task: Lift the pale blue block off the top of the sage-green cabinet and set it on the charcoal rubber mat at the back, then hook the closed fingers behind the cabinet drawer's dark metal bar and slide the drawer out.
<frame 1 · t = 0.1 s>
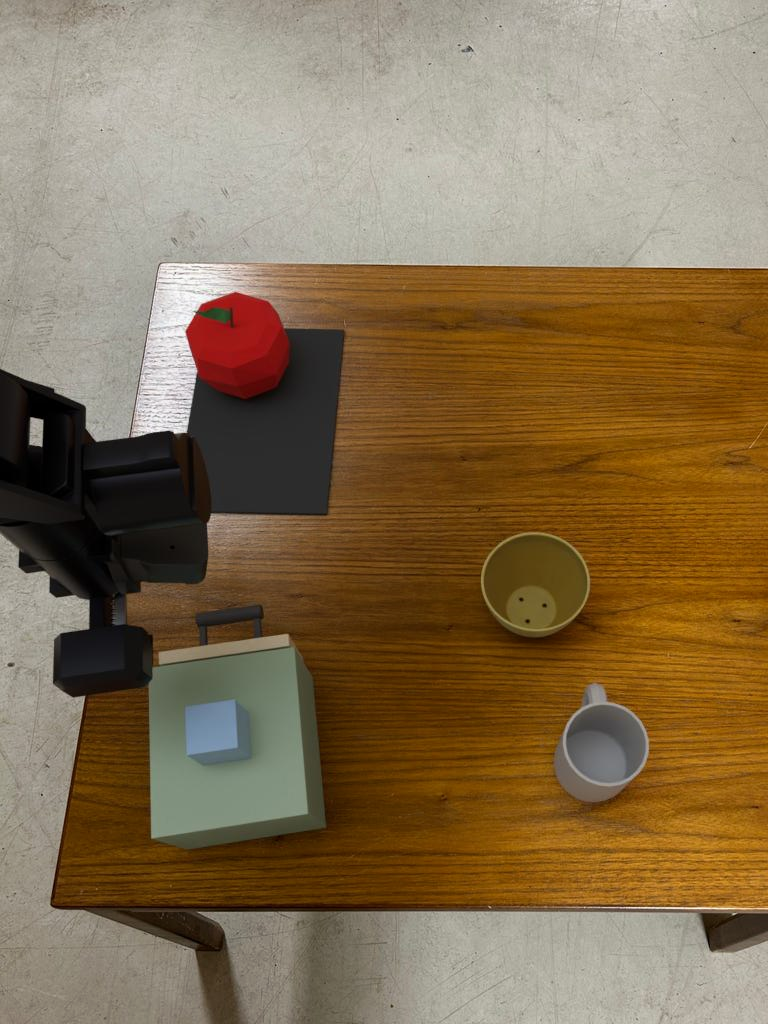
hand: (146, 611, 67), 12 cm above the table, tool pointing down, fingers open, 9 cm apart
mat: (263, 417, 89), on the table
cup: (589, 750, 76), on the table
apple: (250, 373, 90), resting on mat
flower pot: (530, 610, 81), on the table
block: (225, 738, 67), point 9 cm above the table, touching cabinet
cabinet: (252, 759, 75), on the table
drawer: (237, 702, 73), point 4 cm above the table, slide at 0.5 cm
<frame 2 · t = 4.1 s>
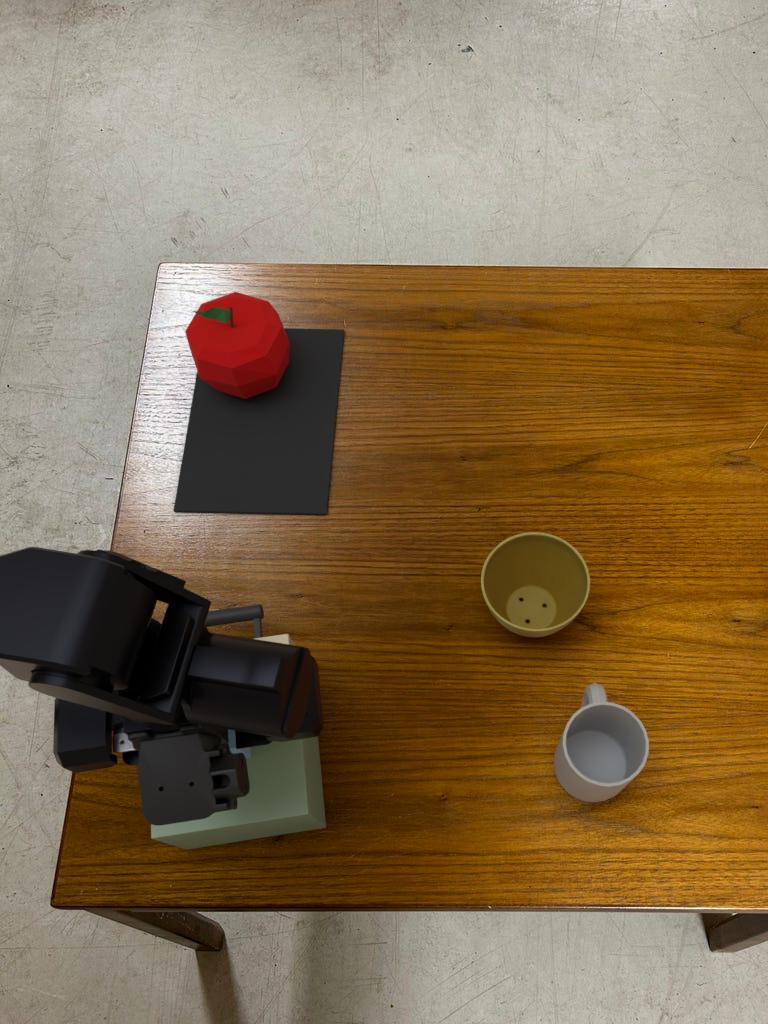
hand: (224, 737, 67), 9 cm above the table, tool pointing down, fingers closed on block, 4 cm apart
block: (225, 738, 67), point 9 cm above the table, touching cabinet, gripper
everything else where it was.
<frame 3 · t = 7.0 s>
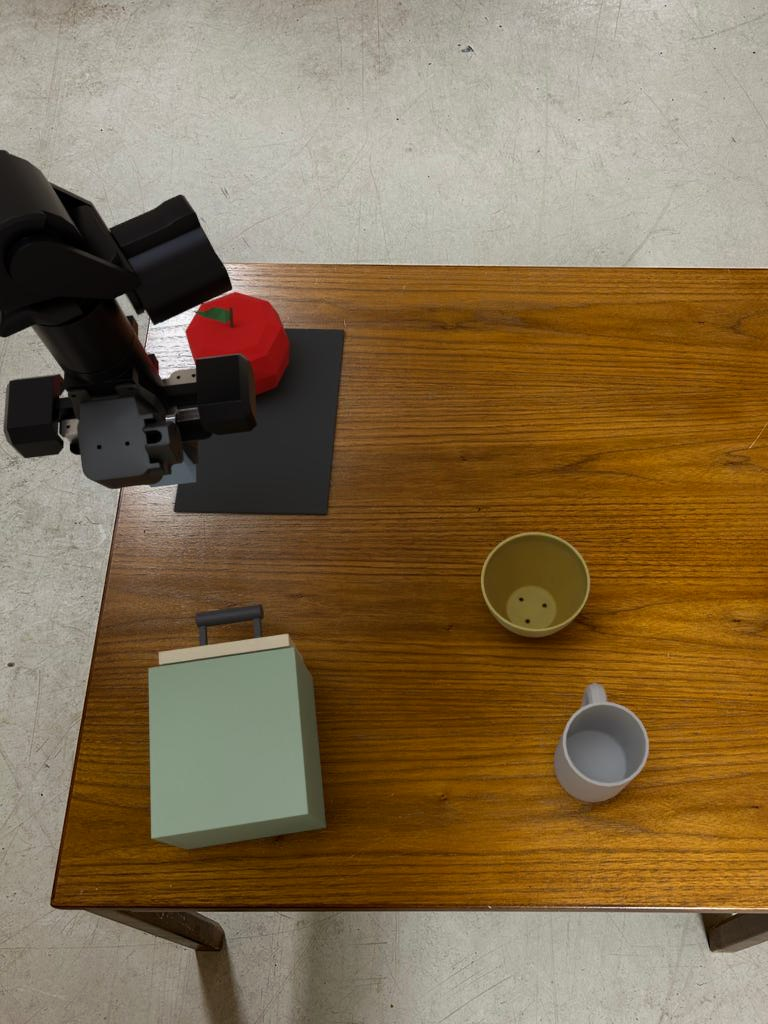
hand: (171, 462, 71), 13 cm above the table, tool pointing down, fingers closed on block, 4 cm apart
block: (173, 465, 72), point 13 cm above the table, touching gripper
everything else where it was.
when the fingers open (1 cm above the table, at t = 10.2 s): block stays where it is, resting on mat.
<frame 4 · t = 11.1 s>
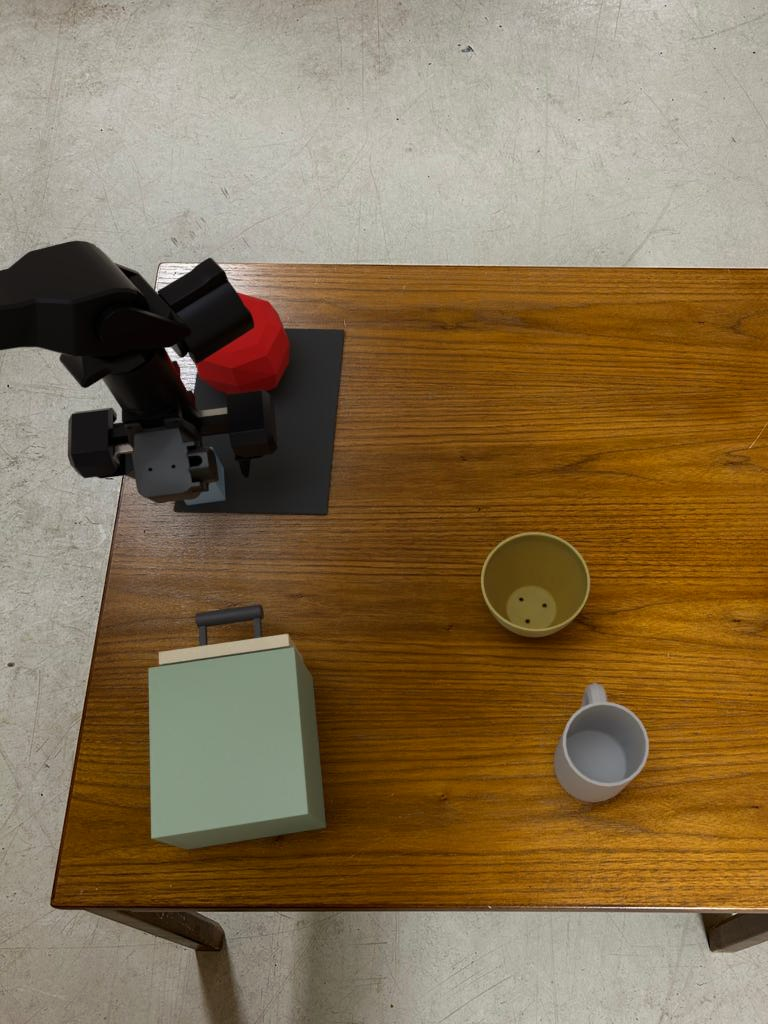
hand: (202, 479, 84), 2 cm above the table, tool pointing down, fingers open, 9 cm apart
block: (205, 486, 85), resting on mat
everything else where it was.
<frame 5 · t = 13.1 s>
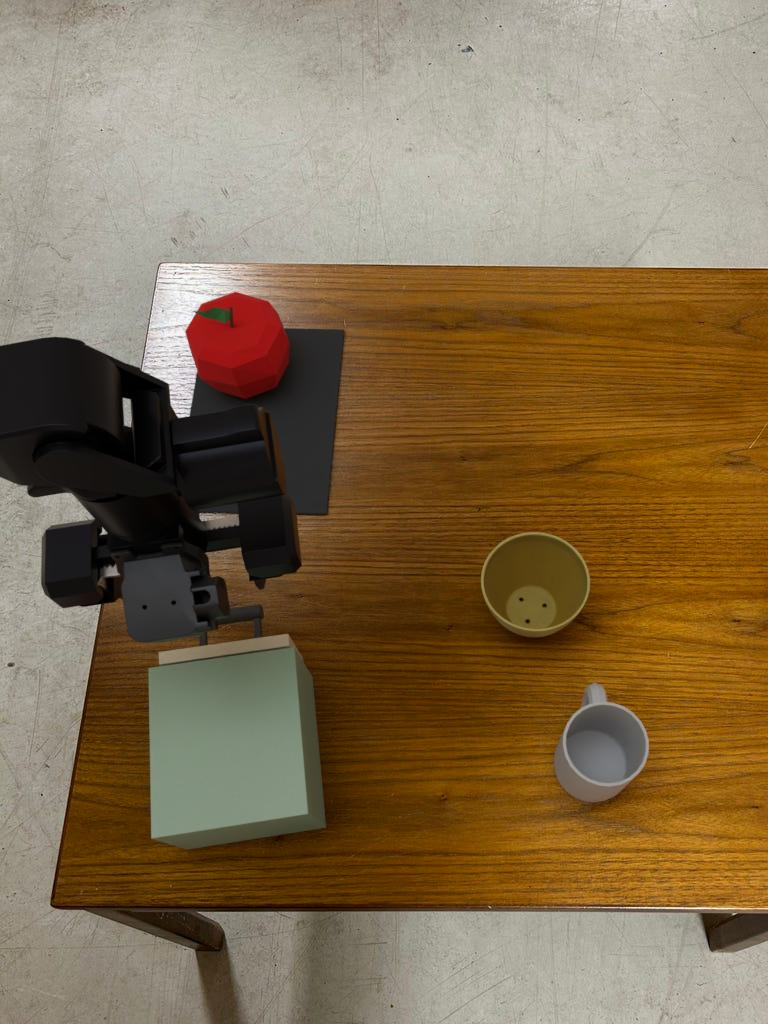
hand: (207, 592, 69), 11 cm above the table, tool pointing down, fingers open, 9 cm apart
nothing on the table moved.
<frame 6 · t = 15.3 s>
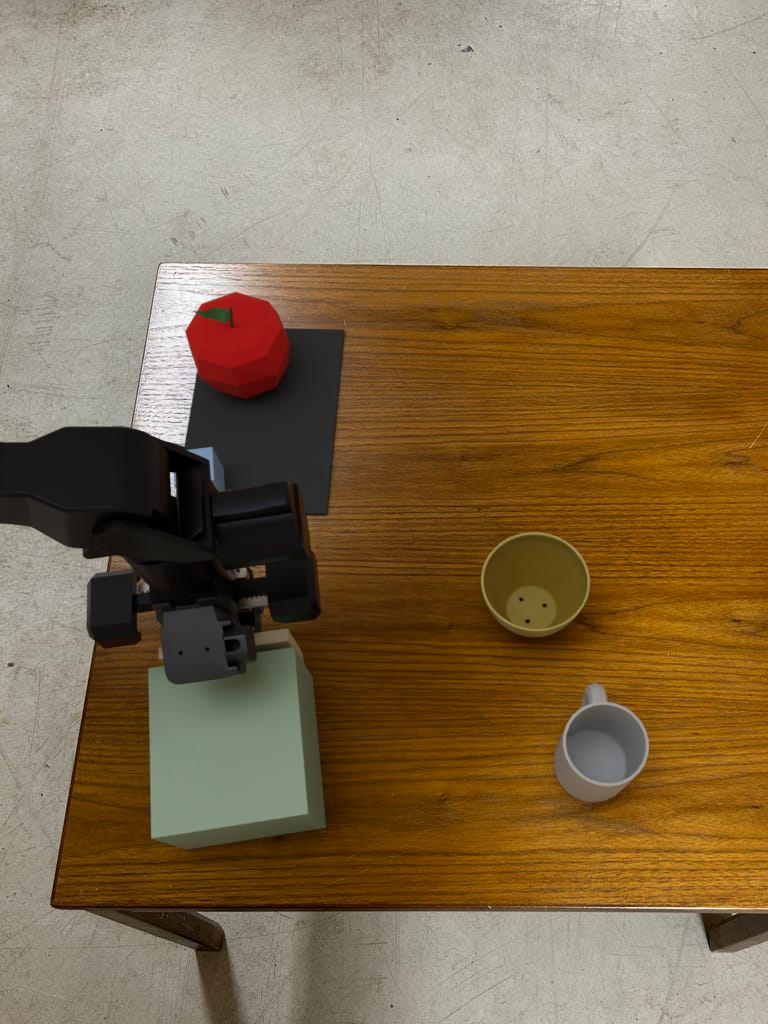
hand: (233, 631, 75), 4 cm above the table, tool pointing down, fingers closed, pressing on drawer
drawer: (236, 697, 73), point 4 cm above the table, slide at 1.0 cm, touching gripper
everything else where it was.
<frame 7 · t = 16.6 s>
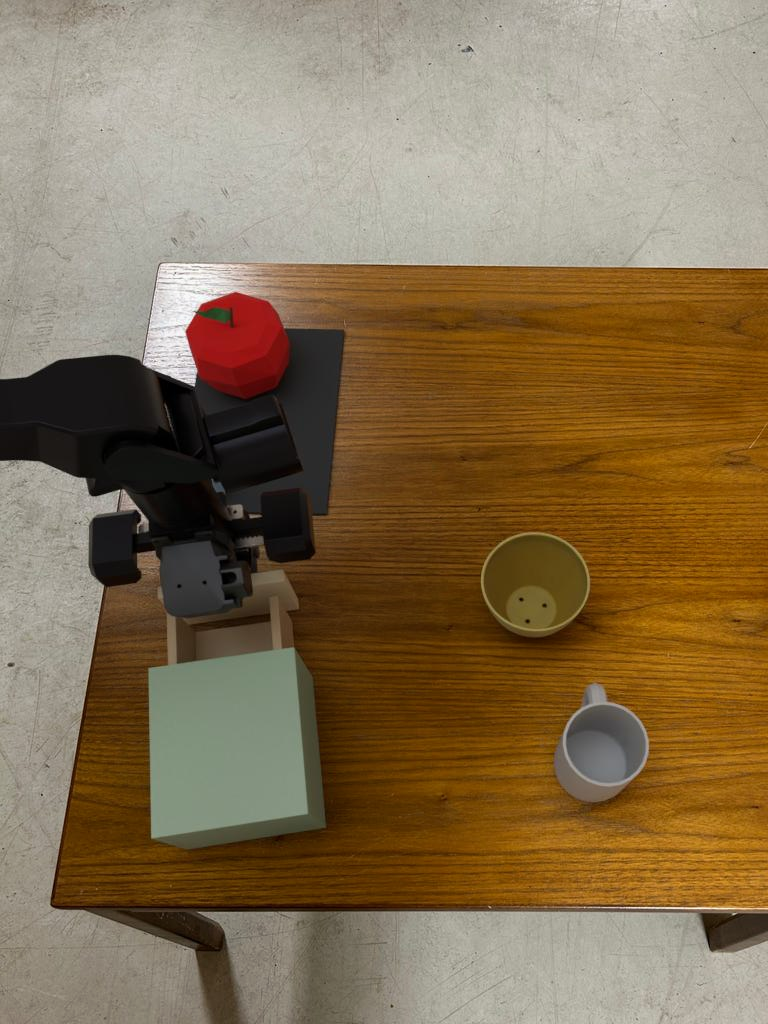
hand: (231, 576, 78), 4 cm above the table, tool pointing down, fingers closed, pressing on drawer
drawer: (233, 637, 75), point 4 cm above the table, slide at 6.9 cm, touching gripper
everything else where it was.
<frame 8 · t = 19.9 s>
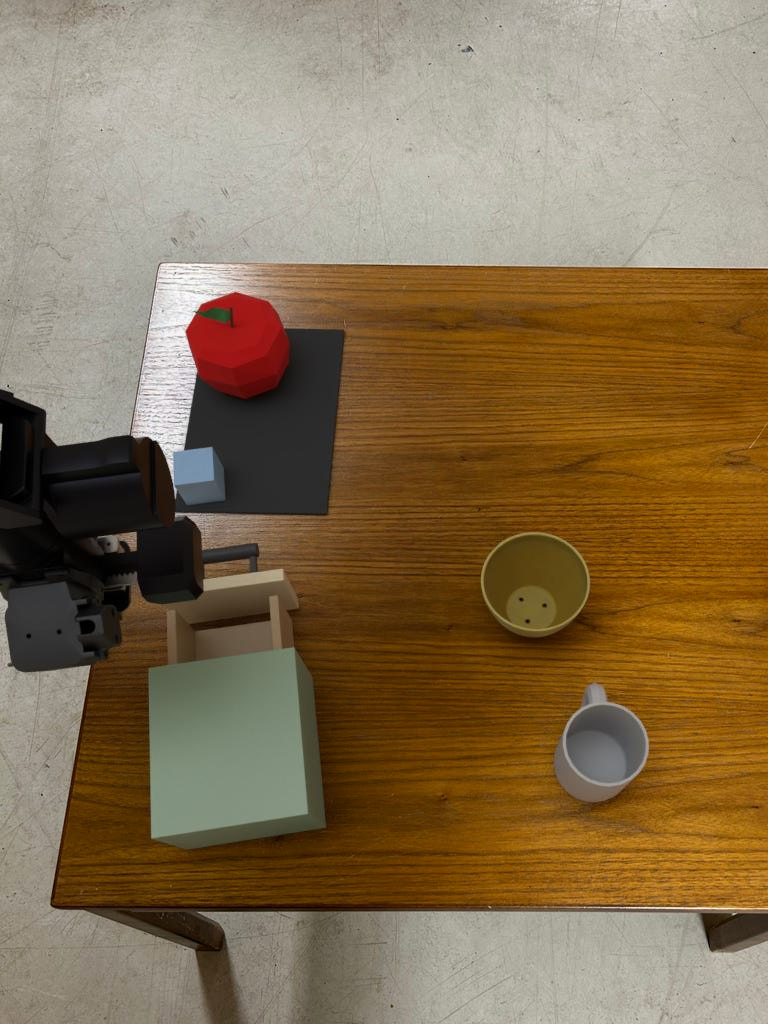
hand: (117, 615, 67), 12 cm above the table, tool pointing down, fingers closed
drawer: (233, 636, 75), point 4 cm above the table, slide at 7.0 cm
everything else where it was.
at the end: block inside the target area on the mat (11.1 cm from its centre), point 0.4 cm above the mat's base; drawer slide at 7.0 cm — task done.
